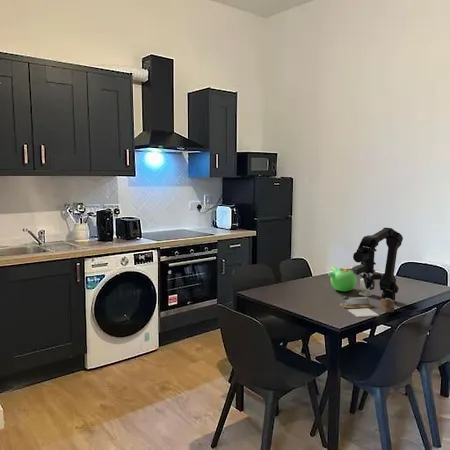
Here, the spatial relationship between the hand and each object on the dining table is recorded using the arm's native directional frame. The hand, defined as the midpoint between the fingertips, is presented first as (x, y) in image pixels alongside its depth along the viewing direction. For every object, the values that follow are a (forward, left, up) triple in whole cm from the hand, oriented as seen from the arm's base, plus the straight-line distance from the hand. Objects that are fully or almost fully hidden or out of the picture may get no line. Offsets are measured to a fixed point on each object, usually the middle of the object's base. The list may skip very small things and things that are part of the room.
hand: (367, 288), depth 233 cm
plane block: (+3, -6, -11) cm, 13 cm away
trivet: (+5, +6, -11) cm, 14 cm away
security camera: (-14, -25, -12) cm, 31 cm away
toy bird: (-4, -37, -12) cm, 39 cm away
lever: (+3, -6, -10) cm, 12 cm away
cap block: (-10, +4, -12) cm, 16 cm away
